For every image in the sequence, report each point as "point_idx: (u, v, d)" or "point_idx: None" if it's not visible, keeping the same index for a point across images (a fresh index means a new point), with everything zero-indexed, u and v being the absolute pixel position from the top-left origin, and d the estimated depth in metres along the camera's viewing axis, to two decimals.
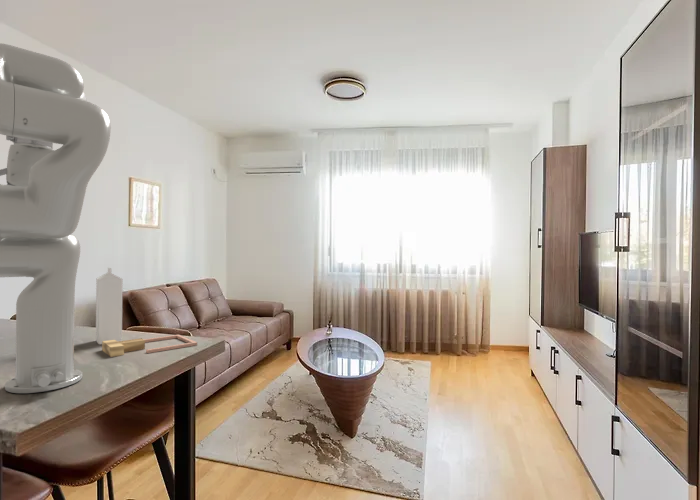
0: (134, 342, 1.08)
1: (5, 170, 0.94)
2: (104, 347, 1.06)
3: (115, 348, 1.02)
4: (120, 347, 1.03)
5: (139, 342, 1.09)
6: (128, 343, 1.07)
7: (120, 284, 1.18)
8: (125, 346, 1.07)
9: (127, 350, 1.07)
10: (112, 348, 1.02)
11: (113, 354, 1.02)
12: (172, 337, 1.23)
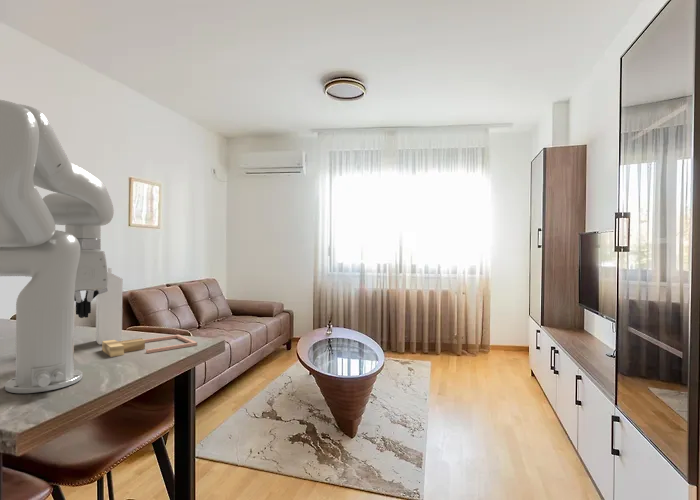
0: (134, 342, 1.08)
1: None
2: (104, 347, 1.06)
3: (115, 348, 1.02)
4: (120, 347, 1.03)
5: (139, 342, 1.09)
6: (128, 343, 1.07)
7: (120, 284, 1.18)
8: (125, 346, 1.07)
9: (127, 350, 1.07)
10: (112, 348, 1.02)
11: (113, 354, 1.02)
12: (172, 337, 1.23)
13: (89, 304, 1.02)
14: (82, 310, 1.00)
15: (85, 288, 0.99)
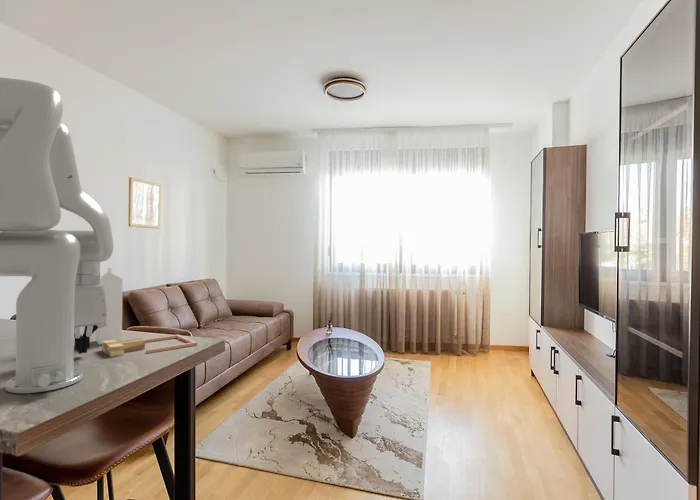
0: (134, 342, 1.08)
1: None
2: (104, 347, 1.06)
3: (115, 348, 1.02)
4: (120, 347, 1.03)
5: (139, 342, 1.09)
6: (128, 343, 1.07)
7: (120, 284, 1.18)
8: (125, 346, 1.07)
9: (127, 350, 1.07)
10: (112, 348, 1.02)
11: (113, 354, 1.02)
12: (172, 337, 1.23)
13: (88, 339, 1.01)
14: (81, 346, 1.00)
15: (84, 324, 0.99)
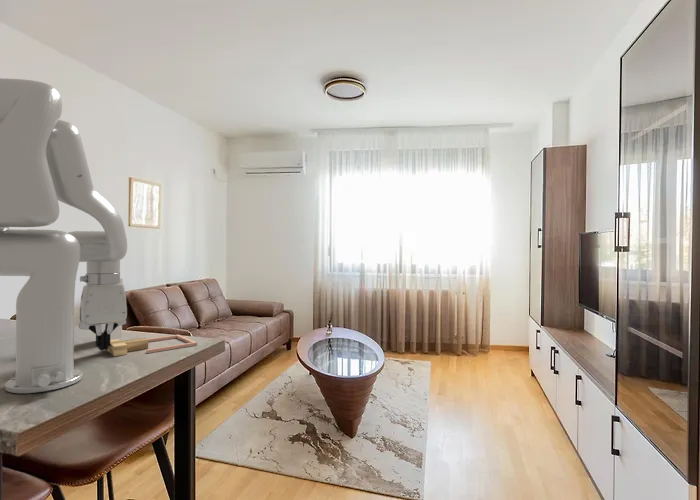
0: (137, 341, 1.09)
1: None
2: (108, 346, 1.07)
3: (118, 347, 1.03)
4: (123, 346, 1.04)
5: (142, 341, 1.10)
6: (131, 342, 1.08)
7: None
8: (128, 345, 1.07)
9: (130, 349, 1.08)
10: (115, 347, 1.02)
11: (116, 353, 1.03)
12: (172, 337, 1.23)
13: (109, 336, 1.05)
14: (102, 343, 1.03)
15: (106, 321, 1.02)
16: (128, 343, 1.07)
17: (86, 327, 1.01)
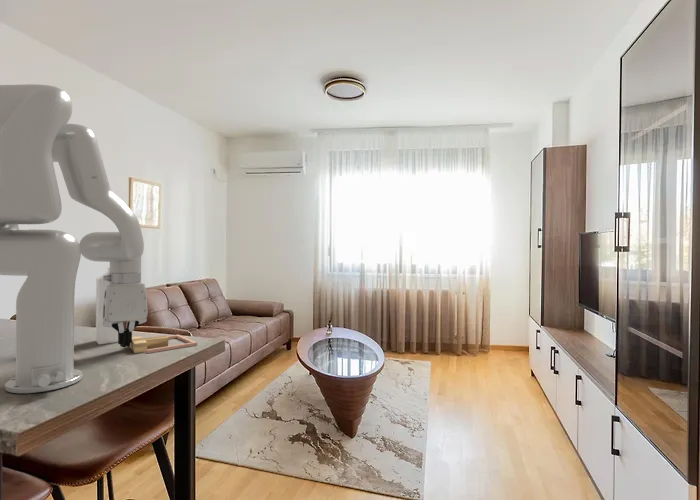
0: (158, 339, 1.12)
1: None
2: (130, 343, 1.11)
3: (138, 344, 1.06)
4: (143, 344, 1.07)
5: (163, 339, 1.12)
6: (152, 340, 1.11)
7: None
8: (149, 343, 1.10)
9: (151, 347, 1.11)
10: (136, 344, 1.06)
11: (137, 350, 1.06)
12: (172, 337, 1.23)
13: (130, 334, 1.08)
14: (124, 340, 1.07)
15: (128, 319, 1.06)
16: (149, 340, 1.10)
17: (109, 324, 1.05)
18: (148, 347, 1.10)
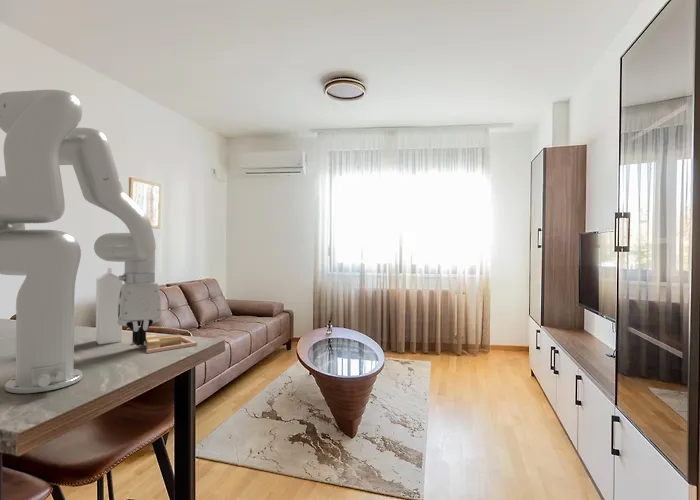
0: (171, 338, 1.14)
1: None
2: (145, 341, 1.13)
3: (152, 343, 1.08)
4: (156, 342, 1.09)
5: (176, 338, 1.14)
6: (165, 339, 1.13)
7: (120, 284, 1.18)
8: (162, 341, 1.12)
9: (164, 345, 1.13)
10: (149, 343, 1.08)
11: None
12: None
13: (144, 333, 1.11)
14: (139, 338, 1.09)
15: (142, 318, 1.08)
16: (162, 339, 1.12)
17: (124, 323, 1.07)
18: (161, 345, 1.12)
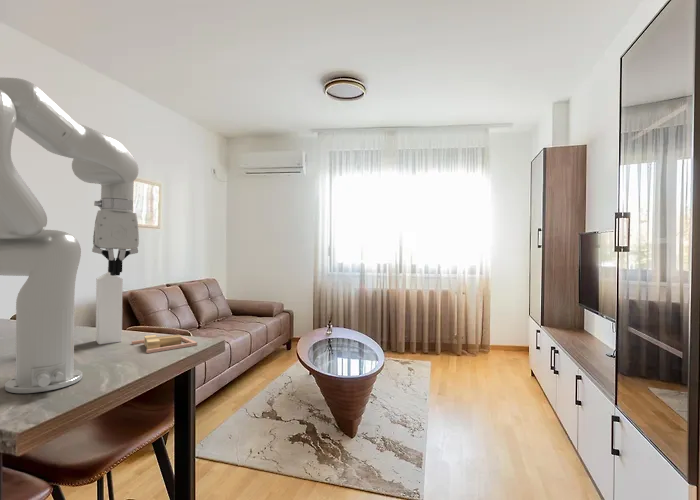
0: (171, 338, 1.14)
1: None
2: (145, 341, 1.13)
3: (152, 343, 1.08)
4: (156, 342, 1.09)
5: (176, 338, 1.14)
6: (165, 339, 1.13)
7: (120, 284, 1.18)
8: (163, 341, 1.12)
9: (164, 345, 1.13)
10: (149, 343, 1.08)
11: None
12: None
13: (121, 263, 1.06)
14: (114, 268, 1.05)
15: (118, 246, 1.04)
16: (162, 339, 1.12)
17: (99, 250, 1.03)
18: (162, 346, 1.12)
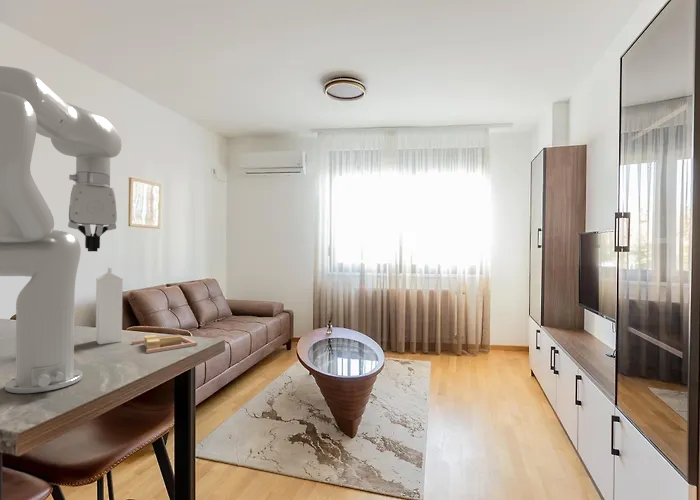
0: (171, 338, 1.14)
1: None
2: (145, 341, 1.13)
3: (152, 343, 1.08)
4: (156, 342, 1.09)
5: (176, 338, 1.14)
6: (165, 339, 1.13)
7: (120, 284, 1.18)
8: (163, 341, 1.12)
9: (164, 345, 1.13)
10: (149, 343, 1.08)
11: None
12: None
13: (98, 239, 1.04)
14: (92, 243, 1.03)
15: (95, 221, 1.02)
16: (162, 339, 1.12)
17: (75, 226, 1.01)
18: (162, 346, 1.12)
